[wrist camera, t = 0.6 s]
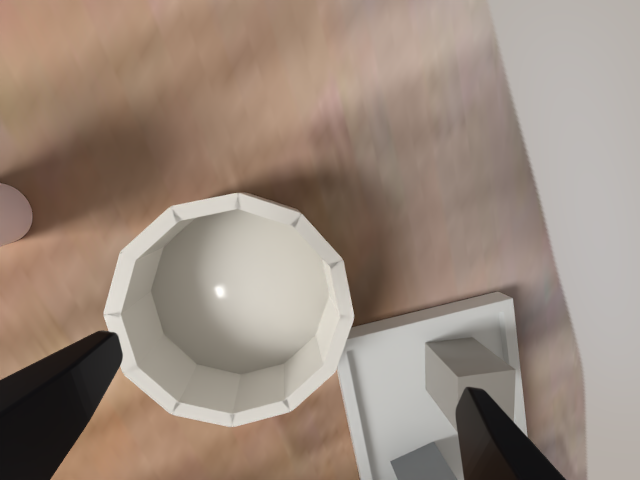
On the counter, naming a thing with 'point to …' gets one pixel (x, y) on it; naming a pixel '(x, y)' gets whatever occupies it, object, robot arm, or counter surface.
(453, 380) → the grey block
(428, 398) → the tray
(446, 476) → the grey block
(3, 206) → the smoothie
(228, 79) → the counter surface
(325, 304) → the bowl
